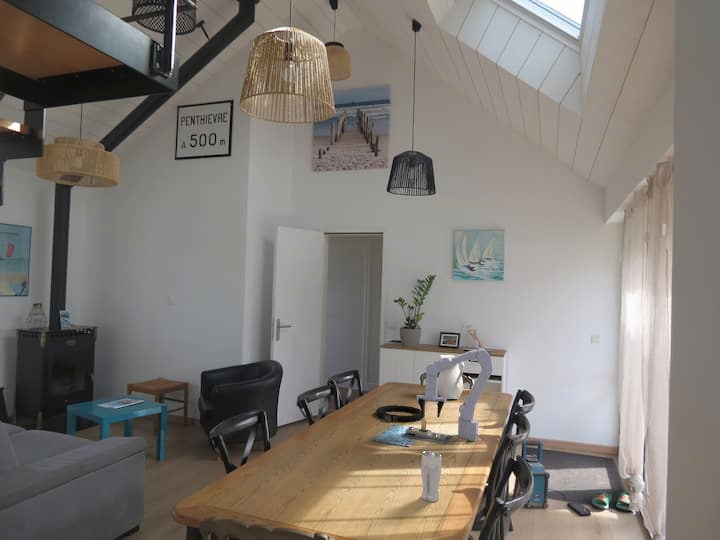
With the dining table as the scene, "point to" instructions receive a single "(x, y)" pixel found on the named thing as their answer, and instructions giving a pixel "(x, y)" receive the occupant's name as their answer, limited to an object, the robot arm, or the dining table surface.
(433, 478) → the beer glass
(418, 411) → the cable lock
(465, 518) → the dining table surface
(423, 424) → the brass pin
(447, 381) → the pitcher
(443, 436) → the grey metal plate
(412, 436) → the dark grey backing panel
